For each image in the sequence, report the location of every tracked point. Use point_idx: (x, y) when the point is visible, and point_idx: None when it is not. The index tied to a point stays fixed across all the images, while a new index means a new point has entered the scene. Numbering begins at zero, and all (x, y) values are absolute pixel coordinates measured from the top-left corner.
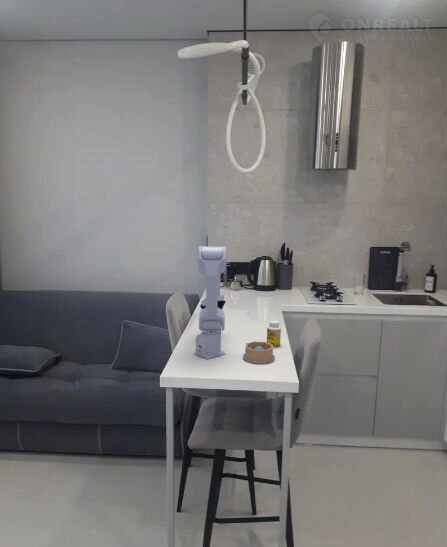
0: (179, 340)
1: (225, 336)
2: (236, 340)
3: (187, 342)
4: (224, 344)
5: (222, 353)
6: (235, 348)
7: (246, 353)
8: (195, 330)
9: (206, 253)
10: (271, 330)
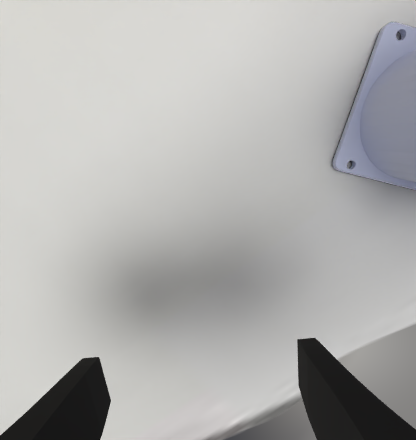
0: None
1: (83, 252)
2: (92, 150)
3: None
4: (212, 163)
5: (412, 33)
6: (233, 48)
7: None
8: (126, 424)
9: None
10: None
